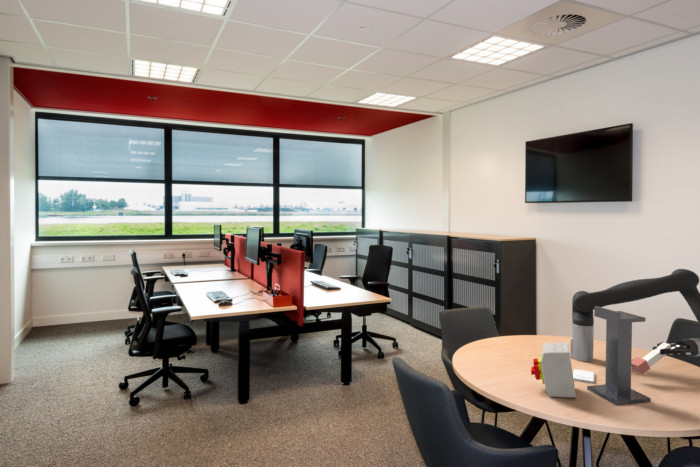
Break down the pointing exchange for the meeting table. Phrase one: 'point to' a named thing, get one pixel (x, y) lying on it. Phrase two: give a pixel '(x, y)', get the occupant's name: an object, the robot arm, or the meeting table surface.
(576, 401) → the meeting table surface
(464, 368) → the meeting table surface
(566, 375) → the electrical switch box
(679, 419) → the meeting table surface
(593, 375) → the external hard drive
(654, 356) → the white bar pink end
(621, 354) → the headphone stand
